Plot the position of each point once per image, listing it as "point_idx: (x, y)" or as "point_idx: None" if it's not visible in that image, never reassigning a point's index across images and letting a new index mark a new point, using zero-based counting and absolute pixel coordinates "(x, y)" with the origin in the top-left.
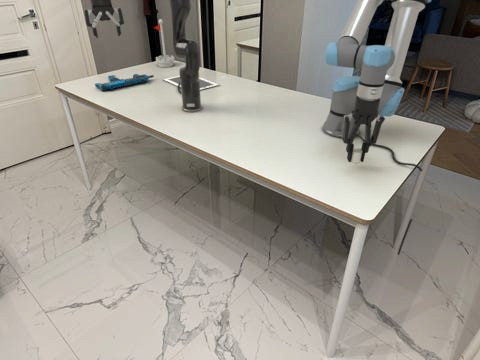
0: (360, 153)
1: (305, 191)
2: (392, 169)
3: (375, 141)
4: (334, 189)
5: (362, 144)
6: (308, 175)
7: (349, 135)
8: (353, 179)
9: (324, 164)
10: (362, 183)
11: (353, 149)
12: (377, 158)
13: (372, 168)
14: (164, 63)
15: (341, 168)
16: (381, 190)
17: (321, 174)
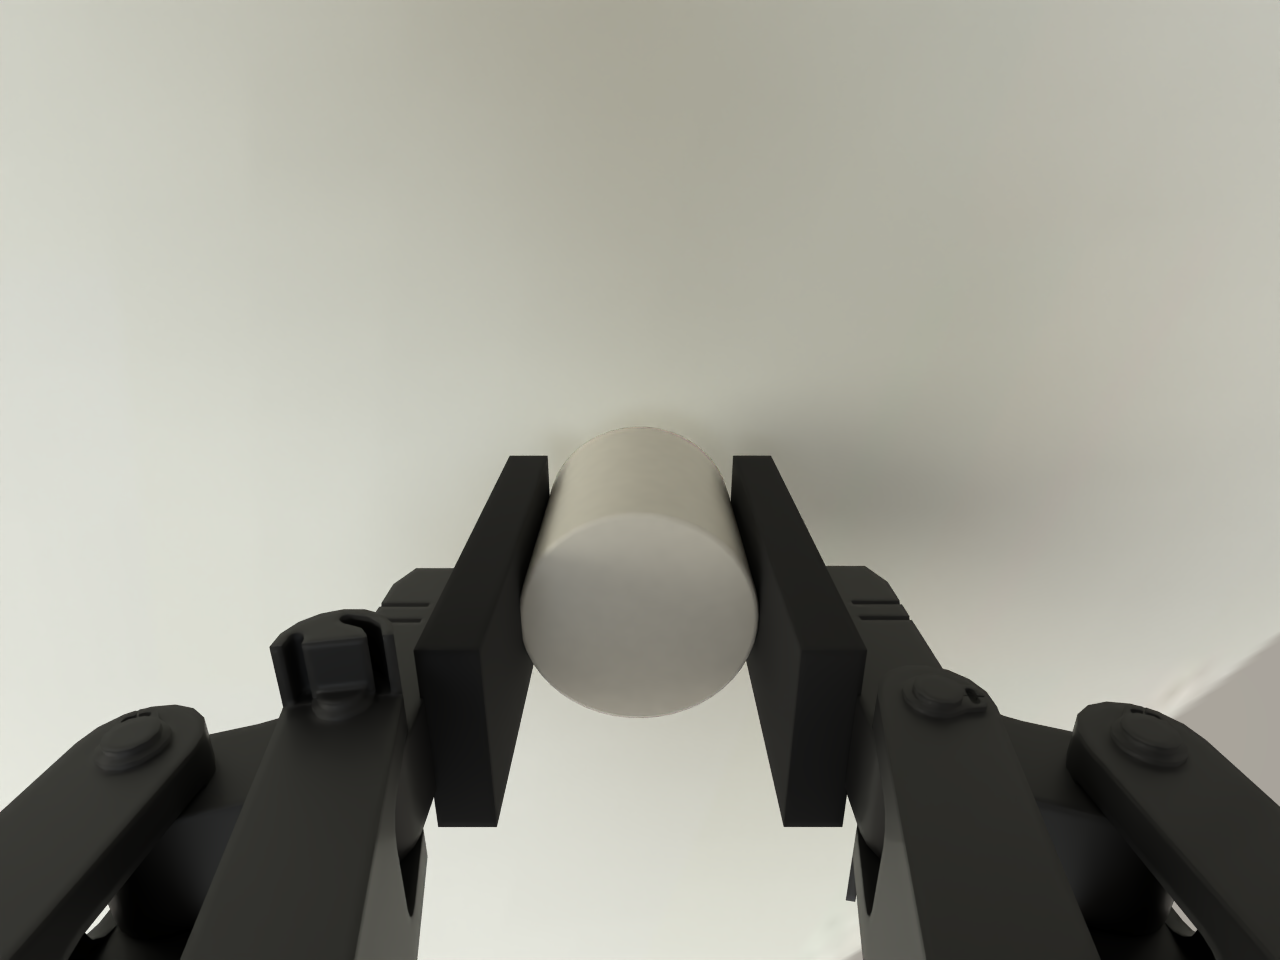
0: (690, 698)
1: None
2: (1185, 519)
3: (1133, 946)
4: None
5: (788, 634)
6: (16, 680)
7: (221, 890)
8: (567, 742)
9: (202, 408)
10: (651, 805)
11: (569, 582)
12: (1154, 171)
13: (907, 501)
14: None
15: (454, 513)
16: (809, 899)
17: (178, 656)
